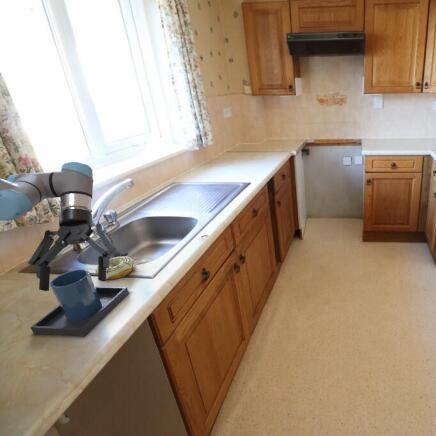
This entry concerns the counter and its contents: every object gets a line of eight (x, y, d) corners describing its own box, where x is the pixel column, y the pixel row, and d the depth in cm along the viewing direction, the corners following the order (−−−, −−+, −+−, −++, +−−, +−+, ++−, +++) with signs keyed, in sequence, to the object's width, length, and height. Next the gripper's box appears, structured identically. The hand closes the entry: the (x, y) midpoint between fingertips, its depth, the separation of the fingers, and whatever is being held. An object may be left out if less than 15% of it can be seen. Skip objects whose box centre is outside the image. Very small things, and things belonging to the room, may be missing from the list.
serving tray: (85, 292, 98) (83, 285, 97) (129, 293, 96) (126, 287, 95) (33, 334, 82) (30, 327, 81) (84, 336, 81) (81, 329, 80)
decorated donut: (104, 286, 100) (99, 276, 99) (95, 273, 107) (91, 263, 106) (139, 271, 107) (136, 261, 105) (129, 260, 114) (125, 250, 112)
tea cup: (66, 309, 90) (50, 277, 85) (100, 297, 94) (87, 265, 90) (67, 325, 84) (50, 291, 79) (103, 311, 89) (89, 278, 84)
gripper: (129, 211, 99) (130, 278, 93) (34, 223, 94) (28, 296, 87) (118, 201, 92) (119, 273, 86) (15, 213, 87) (7, 292, 80)
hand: (73, 285), depth 86 cm, fingers open, 13 cm apart
